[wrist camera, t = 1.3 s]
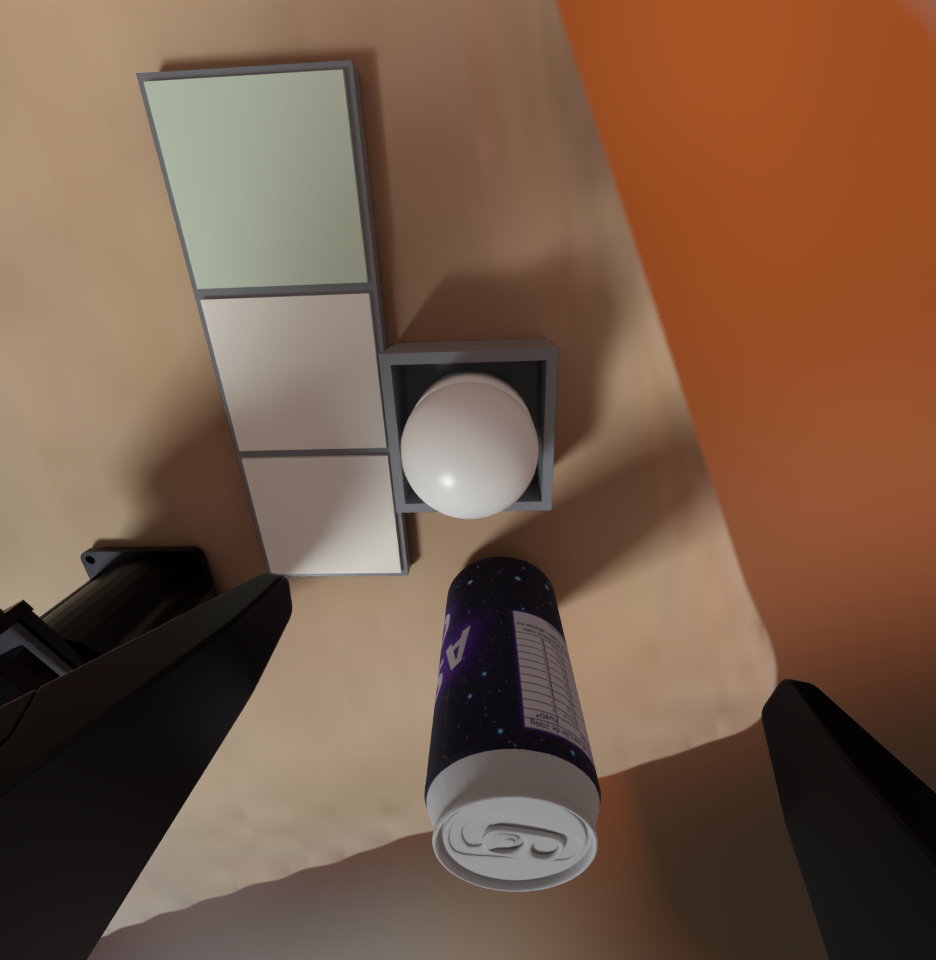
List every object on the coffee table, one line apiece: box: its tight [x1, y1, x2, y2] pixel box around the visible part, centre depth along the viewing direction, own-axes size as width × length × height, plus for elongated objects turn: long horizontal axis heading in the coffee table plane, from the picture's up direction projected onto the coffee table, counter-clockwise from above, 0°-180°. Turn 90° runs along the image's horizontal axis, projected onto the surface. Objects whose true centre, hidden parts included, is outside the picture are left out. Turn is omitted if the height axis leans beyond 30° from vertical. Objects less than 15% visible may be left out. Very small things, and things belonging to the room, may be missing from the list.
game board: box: [136, 60, 410, 577], centre depth 19 cm, size 7×21×1 cm, turn 2°
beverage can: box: [425, 557, 601, 892], centre depth 18 cm, size 6×6×12 cm
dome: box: [401, 369, 539, 519], centre depth 15 cm, size 5×5×5 cm
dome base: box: [378, 338, 559, 513], centre depth 18 cm, size 6×6×4 cm
